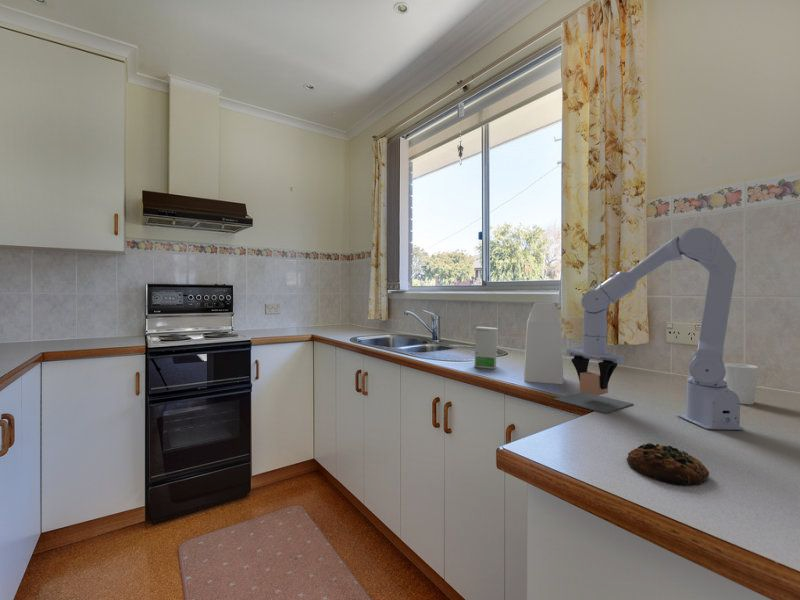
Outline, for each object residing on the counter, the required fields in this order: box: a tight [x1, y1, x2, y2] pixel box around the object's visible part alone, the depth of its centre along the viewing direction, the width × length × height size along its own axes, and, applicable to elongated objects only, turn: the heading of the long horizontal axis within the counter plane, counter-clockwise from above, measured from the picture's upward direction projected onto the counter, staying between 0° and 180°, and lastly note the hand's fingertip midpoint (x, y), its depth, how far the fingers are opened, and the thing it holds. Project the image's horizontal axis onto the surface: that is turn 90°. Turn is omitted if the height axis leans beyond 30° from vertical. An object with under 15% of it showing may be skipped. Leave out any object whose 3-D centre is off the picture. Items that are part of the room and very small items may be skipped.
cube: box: [579, 370, 609, 396], centre depth 102 cm, size 5×5×5 cm
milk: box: [523, 302, 564, 385], centre depth 129 cm, size 12×12×26 cm
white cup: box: [723, 362, 759, 405], centre depth 105 cm, size 8×8×10 cm
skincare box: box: [473, 326, 499, 370], centre depth 149 cm, size 8×7×16 cm
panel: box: [553, 391, 634, 415], centre depth 102 cm, size 14×14×1 cm
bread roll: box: [626, 442, 710, 487], centre depth 63 cm, size 11×11×5 cm
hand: (593, 386), depth 102 cm, fingers closed on cube, 5 cm apart
